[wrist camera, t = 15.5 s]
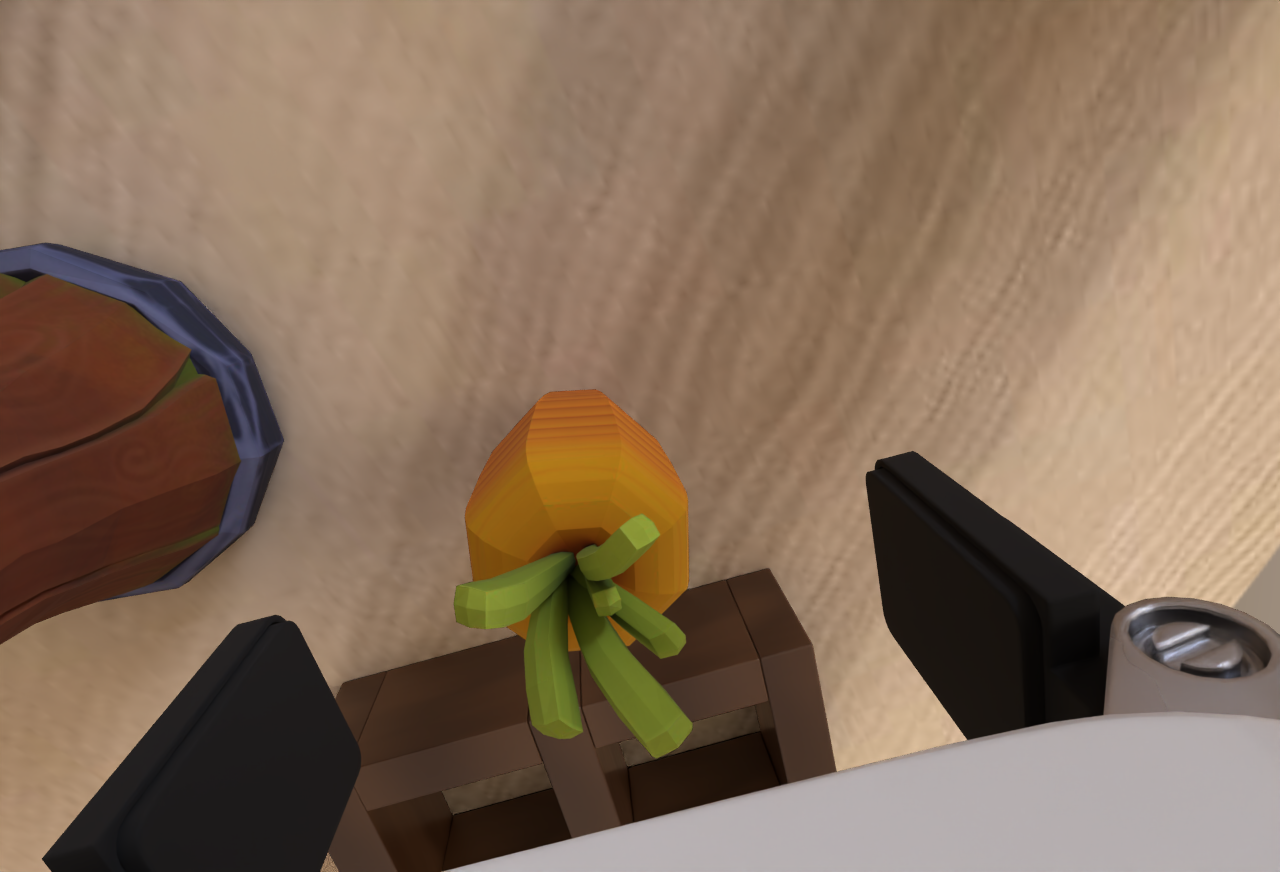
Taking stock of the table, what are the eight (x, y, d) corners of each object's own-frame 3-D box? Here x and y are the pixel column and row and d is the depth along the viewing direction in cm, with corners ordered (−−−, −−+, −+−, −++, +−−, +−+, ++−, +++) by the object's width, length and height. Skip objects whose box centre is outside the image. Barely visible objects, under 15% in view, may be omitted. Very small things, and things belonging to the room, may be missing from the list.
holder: (769, 567, 26) (813, 644, 21) (806, 751, 29) (852, 853, 24) (342, 682, 26) (290, 786, 21) (426, 856, 29) (398, 980, 24)
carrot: (478, 382, 23) (329, 649, 8) (608, 320, 22) (678, 486, 8) (544, 500, 24) (512, 892, 10) (666, 443, 24) (808, 760, 10)
